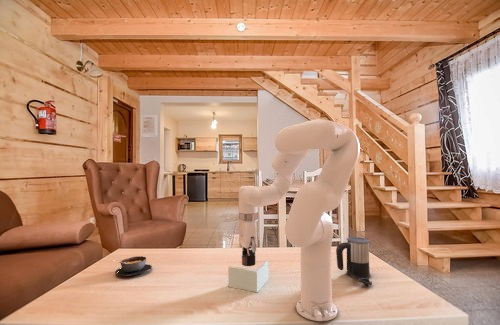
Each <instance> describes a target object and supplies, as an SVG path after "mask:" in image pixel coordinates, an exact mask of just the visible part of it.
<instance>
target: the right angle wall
mask: <svg viewBox="0 0 500 325" xmlns="http://www.w3.org/2000/svg"><path fill="white" fill-rule="evenodd" d="M269 264H270V263H269V260H266V261H264V262H263V263H262V264H261V265H260V266H259V267H258V268H257V269H249V268H243V267H238V266H232V265H229V266H228V267H227V268H228V270H227V271H228V272H227V275H228V277H227V278H228V280H227V281H228V287H230V288H233V289H238V290H244V291H248V292H253V293H258V292H259V291H260V290H261V289H262V288H263V287H264V286H265V285H266V283H267V282H269V279H270V267H269V266H270V265H269Z"/></svg>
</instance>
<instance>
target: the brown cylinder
mask: <svg viewBox="0 0 500 325" xmlns="http://www.w3.org/2000/svg"><path fill="white" fill-rule="evenodd" d="M247 255H248V254H245V255H242V254H241V265H242V266H244V267H248V266H247ZM254 266H255V265H252V266H251V267H254Z"/></svg>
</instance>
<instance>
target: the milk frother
mask: <svg viewBox="0 0 500 325" xmlns="http://www.w3.org/2000/svg"><path fill="white" fill-rule="evenodd" d="M346 241H347V242H341V243H339V244H337V246H336V249H335V254H336V266H337V269H338V270H340V271H343V270H344V255H343V254H344V250H345V249H346V275H348V276H349V277H351V278H352V279H354V280H356V281H358V282H359V283H361V284H362V285H365V286H366V287H368V286H372V285H373V281H372V280H370V277H371V274H370V242H371V240H370V239H368V238H365V237H361V236H349V237H346Z"/></svg>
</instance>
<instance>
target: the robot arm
mask: <svg viewBox="0 0 500 325" xmlns="http://www.w3.org/2000/svg"><path fill="white" fill-rule="evenodd" d="M274 145H275V148H276V150H277V151H278V152H277V153H276V155H275V157H274V158H273V159H272V161H271V165H272V168H273V169H274V172H276V173H277V175H276V176H275V178H274V180H273V181H272V183H271V184H269V185H260V186H255V185H241V186H240V187H239V188H238V221H239V224H238V225H239V226H238V243H239V244H240V246H241V253H242V254H241V256H242V255H245V254H248V255H247V266H246V267H253V266H252V265H254V266H256V251H257V247H258V228H257V222H258V221H259V215H258V214H259V211H258V210H259V209H258V208H261V207H267V206H271V205H276V204H278V203H280V202H281V200H282V199H283V198H284V197H285V196H286V194H287V193H288V192H289V190H290V189H291V186H292V182H293V175H294V173H295V172H296V171H297V169H298V168H299V166H301V164H302V163H303V161H305V159H306V157H307V156H308V155H309V153H310V152H311V151H313V150H329V151H330V154H329V156H328V157H327V158H326V160H325V161H324V163H323V165H322V168H321V171H320V174H319V175H318V177H317V179H316V180H312V181H308V182H306V183H304V184H302V185H301V186H300V187H299V188H298V190H297V192H296V193H295V196H294V198H293V202H292V204H291V206H290V209H289V212H288V215H287V218H286V221H285V225H284V234H285V238H286V239H287V241H288V242H289V244H291V245H292V246H294V247H296V248H300V300H298V301H297V303H296V308H295V309H296V312H297V313H298V314H299V315H300V316H301V317H303V318H305V319H307V320H310V321H313V322H328V321H332V320H333V319H335V318H336V317H337V316H338V307H337V306H336V305H335V304H334V303H333V295H332V294H333V289H332V288H333V287H332V286H333V284H332V247H333V246H332V245H333V237H334V223H333V220H332V217H331V216H330V215H329V214H328V212H332V211H334V210H336V209H337V208H338V207H339V206H340V204H341V202H342V199H343V197H344V194H345V193H346V189H347V188H348V184H349V182H350V178H351V176H352V174H353V171H354V168H355V166H356V164H357V162H358V158H359V155H360V141H359V138H358V136H357V135H356V133H355V132H354V130H352V129H351V128H350V127H349V126H347V125H345V124H344V123H340V122H338V121H332V120H328V119H325V118H316V119H311V120H307V121H303V122H300V123H296V124H292V125H288V126H286V127H285V126H284V128H281V129H280V130H279V131H278V133H277V134H276V136H275V139H274Z"/></svg>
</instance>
